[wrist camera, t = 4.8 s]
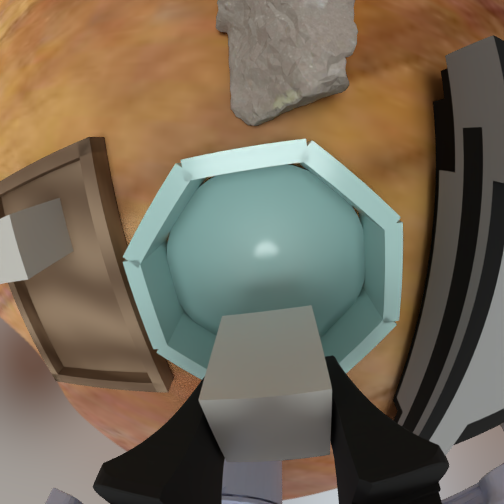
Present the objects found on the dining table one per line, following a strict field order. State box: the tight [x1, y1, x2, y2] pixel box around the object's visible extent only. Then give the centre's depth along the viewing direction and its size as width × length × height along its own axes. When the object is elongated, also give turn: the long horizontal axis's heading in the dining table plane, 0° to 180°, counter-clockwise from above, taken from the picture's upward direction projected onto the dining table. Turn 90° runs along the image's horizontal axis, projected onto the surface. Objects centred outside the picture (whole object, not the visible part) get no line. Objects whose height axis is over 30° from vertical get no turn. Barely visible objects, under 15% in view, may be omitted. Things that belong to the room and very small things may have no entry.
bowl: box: [123, 139, 403, 380], centre depth 16 cm, size 14×14×4 cm
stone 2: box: [198, 305, 332, 462], centre depth 11 cm, size 4×4×5 cm
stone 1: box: [0, 198, 73, 284], centre depth 15 cm, size 4×4×5 cm
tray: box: [0, 137, 174, 392], centre depth 19 cm, size 19×13×2 cm
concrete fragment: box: [216, 0, 358, 126], centre depth 10 cm, size 7×14×6 cm, turn 179°
